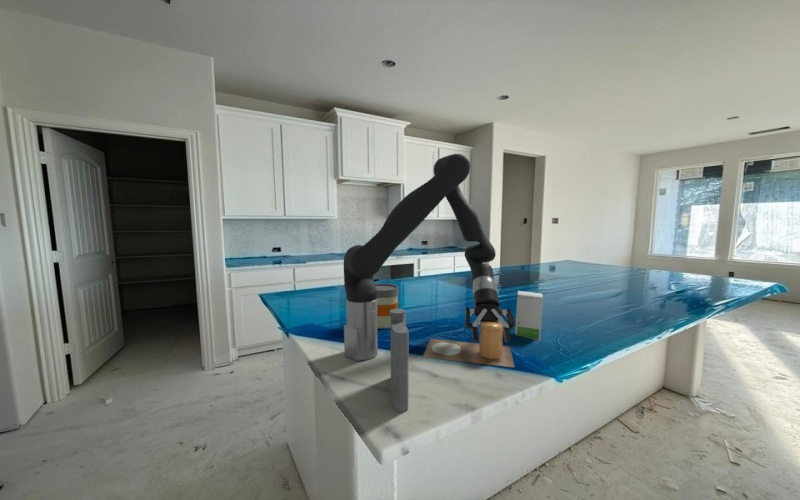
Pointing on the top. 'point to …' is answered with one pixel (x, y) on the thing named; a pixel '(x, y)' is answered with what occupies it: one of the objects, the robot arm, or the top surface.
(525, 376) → the top surface
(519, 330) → the skincare box
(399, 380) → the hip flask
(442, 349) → the post board
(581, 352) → the top surface
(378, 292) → the reusable coffee cup
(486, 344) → the cap
